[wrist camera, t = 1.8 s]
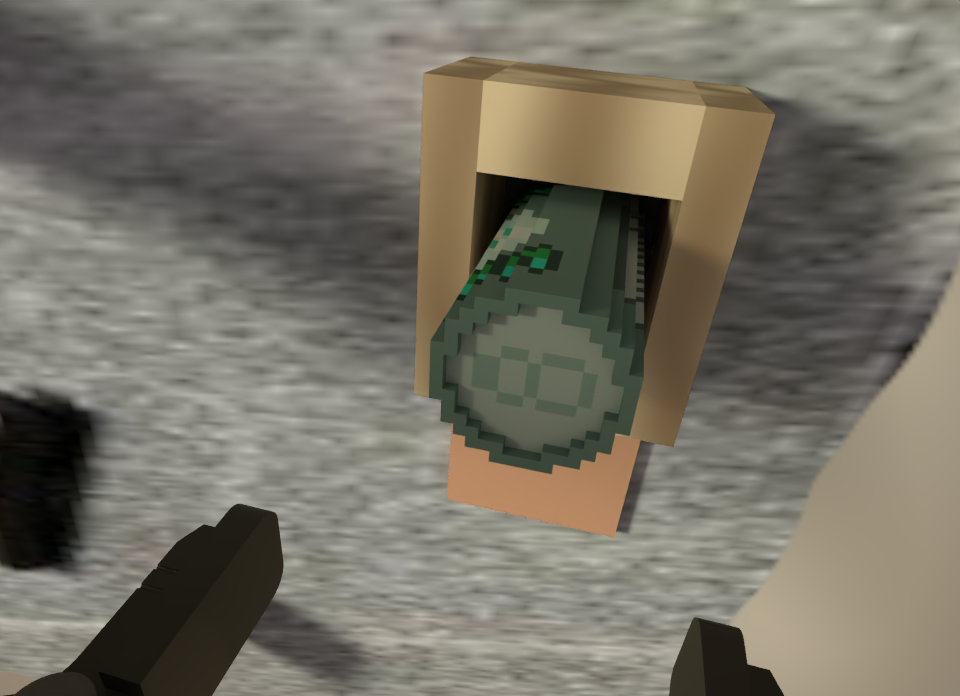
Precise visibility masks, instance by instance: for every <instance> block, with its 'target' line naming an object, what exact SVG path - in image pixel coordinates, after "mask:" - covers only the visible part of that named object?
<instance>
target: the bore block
mask: <svg viewBox="0 0 960 696" xmlns="http://www.w3.org/2000/svg"><path fill="white" fill-rule="evenodd" d="M775 115H776V114H775V113H773V112H772V111H771V110H770V109H769V108H768V107H767V106H766V105H765V104H764V103H762V102H761V101H760V100H759V99H758V98H757V97H756V96H755V95H754V94H753V93H752V92H750V91H749V90H748V89H747V88H746V87H738V86H729V85H720V84H711V83H702V82H693V81H684V80H675V79H666V78H657V77H648V76H639V75H630V74H621V73H612V72H603V71H594V70H585V69H576V68H567V67H558V66H550V65H541V64H532V63H523V62H514V61H505V60H496V59H487V58H478V57H468V58H465V59H463V60H460V61H457V62H454V63H451V64H448V65H445V66H443V67H440V68H437V69H434V70H431V71H428V72H426V73H423V103H422V138H421V174H420V209H419V244H418V279H417V314H416V349H415V384H414V395H419V396H424V397H429V372H430V340H431V338H432V337H433V335H434V334H435V332H436V330H437V329H438V327H439V326H440V324H441V322H442V321H443V319H444V318H445V316H446V314H447V313H448V311H449V310H450V308H451V306H452V305H453V303H454V301H455V300H456V298H457V297H458V295H459V293H460V292H461V290H462V289H463V287H464V285H465V284H466V282H467V281H468V279H469V277H470V276H471V274H472V273H473V271H474V269H475V268H476V266H477V264H478V263H479V261H480V260H481V258H482V256H483V255H484V253H485V252H486V250H487V248H488V247H489V245H490V244H491V242H492V240H493V239H494V237H495V236H496V234H497V232H498V231H499V229H500V227H501V226H502V218H503V208H504V198H505V188H506V178H507V176H510V177H517V178H525V179H532V180H539V181H546V182H553V183H560V184H567V185H574V186H581V187H588V188H595V189H602V190H610V191H617V192H624V193H631V194H638V195H645V196H652V197H659V198H665V200H664V204H663V208H662V213H661V217H660V221H659V225H658V230H657V234H656V238H655V242H654V247H653V251H652V255H651V259H650V263H649V268H648V272H647V276H646V280H645V285H644V379H643V383H642V387H641V391H640V395H639V400H638V404H637V408H636V412H635V416H634V420H633V424H632V428H631V433H630V436H627V435H621V434H615V435H617V436H622V437H627V438H632V439H636V440H641V441H646V442H651V443H656V444H661V445H666V446H671V447H673V446H674V443H675V440H676V436H677V433H678V430H679V427H680V423H681V420H682V417H683V414H684V410H685V407H686V404H687V401H688V397H689V394H690V391H691V388H692V384H693V381H694V378H695V375H696V371H697V368H698V365H699V362H700V358H701V355H702V352H703V349H704V345H705V342H706V339H707V336H708V332H709V329H710V326H711V323H712V319H713V316H714V313H715V310H716V306H717V303H718V300H719V297H720V293H721V290H722V287H723V284H724V280H725V277H726V274H727V271H728V267H729V264H730V261H731V258H732V254H733V251H734V248H735V245H736V241H737V238H738V235H739V232H740V228H741V225H742V222H743V219H744V215H745V212H746V209H747V206H748V202H749V199H750V196H751V193H752V189H753V186H754V183H755V180H756V176H757V173H758V170H759V167H760V163H761V160H762V157H763V154H764V150H765V147H766V144H767V141H768V137H769V134H770V131H771V128H772V124H773V121H774V118H775ZM439 400H440V399H439Z"/></svg>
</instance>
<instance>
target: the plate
mask: <svg viewBox="0 0 960 696" xmlns="http://www.w3.org/2000/svg"><path fill="white" fill-rule="evenodd" d="M640 441H641V440H636V439H632V438H627V437H622V436H617V435H615V438H614V442H613V447H612V451H611V455H609V454H604V453H599V452H597V455H596V459H595V462H590V461H585V460H581V465H580V470H578V469H573V468H568V467H563V466H558V465H553V470H552V474H547V473H542V472H538V471H533V470H528V469H523V468H518V467H513V466H509V465H504V464H499V463H494V462H489V461H488V460H489V451H485V450H480V449H475V448H470V447H465V446H464V445H465V436H461V435H456V434H453V423H452V431H451V446H450V460H449V475H448V489H447V499H448V500H452V501H456V502H461V503H465V504H470V505H474V506H478V507H483V508H487V509H491V510H496V511H500V512H505V513H509V514H513V515H518V516H522V517H526V518H531V519H535V520H540V521H544V522H548V523H553V524H557V525H561V526H566V527H570V528H575V529H579V530H583V531H588V532H592V533H596V534H601V535H605V536H610V537H615V533H616V529H617V526H618V522H619V518H620V515H621V511H622V507H623V504H624V500H625V496H626V493H627V489H628V485H629V481H630V478H631V474H632V470H633V467H634V463H635V459H636V456H637V452H638V448H639V445H640Z"/></svg>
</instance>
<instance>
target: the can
mask: <svg viewBox="0 0 960 696" xmlns="http://www.w3.org/2000/svg"><path fill="white" fill-rule="evenodd" d="M643 379H644V213H639V195H632V194H631V193H624V192H617V191H610V190H602V189H595V188H588V187H581V186H574V185H567V184H560V183H553V182H546V181H539V180H535V181H534V182H531V181H529V183H528V185H527V186H526V188H525V189H524V191H523V193H522V194H521V196H520V197H519V199H518V200H517V202H516V203H515V205H514V207H513V208H512V210H511V211H510V213H509V215H508V216H507V218H506V219H505V221H504V223H503V224H502V226H501V227H500V229H499V231H498V232H497V234H496V236H495V237H494V239H493V240H492V242H491V244H490V245H489V247H488V248H487V250H486V252H485V253H484V255H483V256H482V258H481V260H480V261H479V263H478V264H477V266H476V268H475V269H474V271H473V273H472V274H471V276H470V277H469V279H468V281H467V282H466V284H465V285H464V287H463V289H462V290H461V292H460V293H459V295H458V297H457V298H456V300H455V301H454V303H453V305H452V306H451V308H450V310H449V311H448V313H447V314H446V316H445V318H444V319H443V321H442V322H441V324H440V326H439V327H438V329H437V330H436V332H435V334H434V335H433V337H432V338H431V340H430V372H429V398H434V399H440V400H441V421H443V422H448V423H453V434H456V435H461V436H465V445H464V446H465V447H470V448H475V449H480V450H485V451H489V460H488V461H489V462H494V463H499V464H504V465H509V466H513V467H518V468H523V469H528V470H533V471H538V472H542V473H547V474H552V470H553V465H558V466H563V467H568V468H573V469H578V470H580V465H581V460H585V461H590V462H595V459H596V455H597V452H599V453H604V454H609V455H611V451H612V447H613V442H614V438H615V434H621V435H627V436H630V433H631V428H632V424H633V420H634V416H635V412H636V408H637V404H638V400H639V395H640V391H641V387H642V383H643Z"/></svg>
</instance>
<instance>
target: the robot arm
mask: <svg viewBox="0 0 960 696" xmlns="http://www.w3.org/2000/svg"><path fill="white" fill-rule="evenodd" d="M282 573H283V555H282V548H281V540H280V532H279V525H278V518H277V515H276V513H274V512H272V511H268V510H264V509H260V508H255V507H251V506H247V505H243V504H236V505H234V506H233V507H232V508H231V509H230V510H229V511H228V512H227V513H226V514H225V516H224V517H223V518H222V519H221V521H220V522H219V523H218V524H217V525H216V527H212V526H208V525H202V526H201V527H199V528H198V529H196V530H195V531H193V532H191V533H190V534H188V535H187V536H185V537H184V538H182V539H181V540H179V541H178V542H177V543H176V544H175V545H174V546H173V547H172V549H171V550H170V551H169V552H168V553H167V554H166V556H165V557H164V558H163V559H162V560H161V561H160V562H159V564H158V567H157V569H153V571H152V572H151V573H150V574H149V575H148V576H147V578H146V579H145V580H144V581H143V582H142V585H141V587H140V588H137V589H136V590H135V592H134V593H133V594H132V595H131V596H130V597H129V598H128V600H127V601H126V602H125V603H124V604H123V605H122V607H121V608H120V609H119V610H118V611H117V612H116V614H115V615H114V616H113V617H112V618H111V619H110V621H109V622H108V623H107V624H106V625H105V626H104V628H103V629H102V630H101V631H100V632H99V633H98V635H97V636H96V637H95V638H94V639H93V640H92V641H91V643H90V644H89V645H88V646H87V647H86V648H85V650H84V651H83V652H82V653H81V654H80V655H79V657H78V658H77V659H76V660H75V661H74V662H73V663H72V664H71V665H70V666H69V667H68V668H66V669H65V670H64V671H63V672H59V673H54V674H50V675H47V676H45V677H42V678H40V679H37V680H35V681H33V682H32V683H30V684H28V685H27V686H25V687H24V688H22V689H21V690H20V691H18V692H17V693H16V694H13V695H6V696H212V694H213V693H214V691H215V690H216V688H217V686H218V685H219V683H220V682H221V680H222V678H223V677H224V675H225V674H226V672H227V670H228V669H229V667H230V666H231V664H232V662H233V661H234V659H235V658H236V656H237V654H238V653H239V651H240V650H241V648H242V646H243V645H244V643H245V641H246V640H247V638H248V637H249V635H250V633H251V632H252V630H253V629H254V627H255V625H256V624H257V622H258V621H259V619H260V617H261V616H262V614H263V613H264V611H265V609H266V608H267V606H268V605H269V603H270V601H271V600H272V598H273V596H274V595H275V593H276V591H277V589H278V586H279V584H280V581H281V577H282ZM669 696H784V695H783V693H782V691H781V689H780V688H779V686H778V684H777V682H776V680H775V679H774V677H773V675H772V673H771V672H770V670H767V669H763V668H759V667H756V666H752V665H748V664H747V659H746V652H745V645H744V639H743V635H742V632H741V630H740V629H739V628H736V627H733V626H729V625H725V624H721V623H717V622H713V621H709V620H704V619H700V618H694V619H693V620H692V623H691V625H690V627H689V630H688V632H687V635H686V637H685V640H684V642H683V645H682V647H681V650H680V652H679V655H678V657H677V660H676V662H675V665H674V668H673V672H672V677H671V683H670V693H669Z"/></svg>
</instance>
